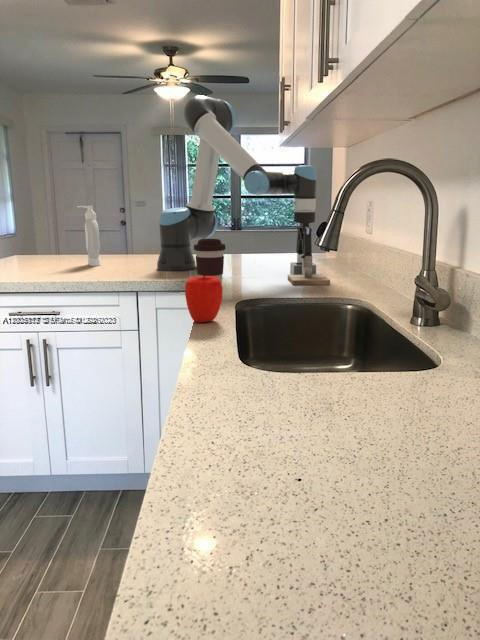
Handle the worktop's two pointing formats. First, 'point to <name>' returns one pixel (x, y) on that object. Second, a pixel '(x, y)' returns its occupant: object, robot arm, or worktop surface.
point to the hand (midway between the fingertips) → (303, 274)
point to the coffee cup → (210, 257)
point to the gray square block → (299, 268)
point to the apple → (203, 297)
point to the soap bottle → (92, 237)
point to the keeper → (308, 276)
